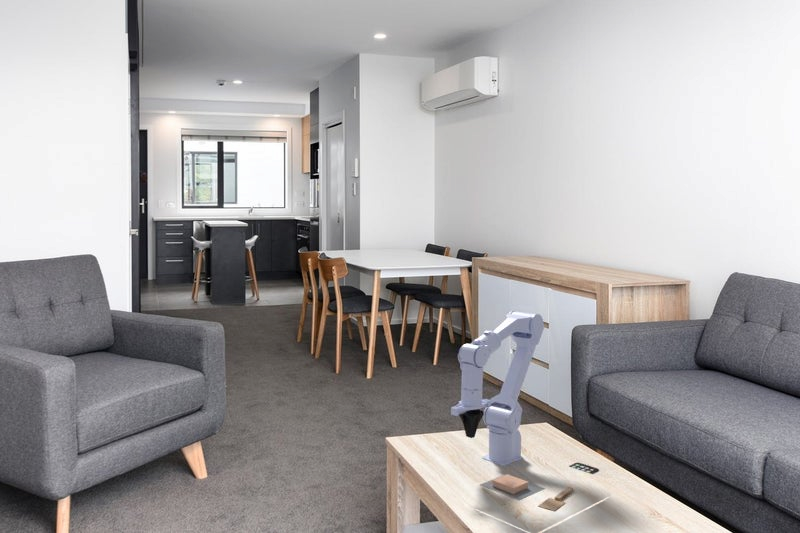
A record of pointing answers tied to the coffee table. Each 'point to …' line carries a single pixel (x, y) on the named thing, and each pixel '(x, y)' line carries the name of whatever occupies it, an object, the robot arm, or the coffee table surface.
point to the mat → (519, 495)
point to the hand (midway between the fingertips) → (470, 436)
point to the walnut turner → (556, 500)
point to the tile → (510, 484)
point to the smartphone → (584, 468)
